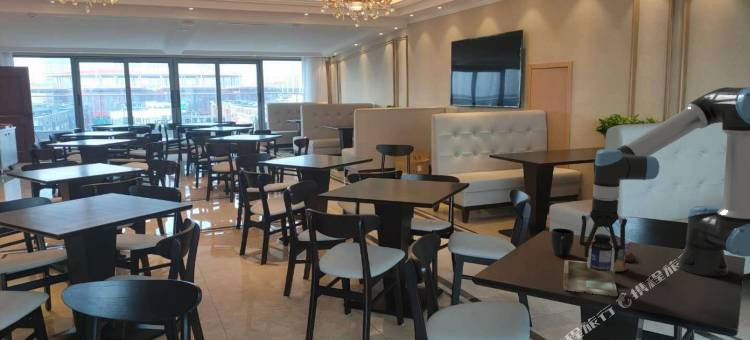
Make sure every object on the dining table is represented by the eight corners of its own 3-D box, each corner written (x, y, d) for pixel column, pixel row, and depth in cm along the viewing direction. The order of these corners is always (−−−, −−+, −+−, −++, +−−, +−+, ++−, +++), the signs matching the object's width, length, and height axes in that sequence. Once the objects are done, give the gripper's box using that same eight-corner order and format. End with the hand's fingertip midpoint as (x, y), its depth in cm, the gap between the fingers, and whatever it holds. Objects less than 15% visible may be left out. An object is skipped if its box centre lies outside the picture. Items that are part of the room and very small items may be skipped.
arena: (613, 281, 180) (615, 264, 179) (617, 296, 167) (618, 278, 166) (563, 275, 185) (564, 259, 184) (563, 290, 172) (564, 272, 171)
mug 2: (629, 274, 187) (631, 245, 185) (600, 271, 190) (602, 242, 188) (626, 264, 198) (628, 236, 196) (599, 261, 201) (601, 234, 199)
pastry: (584, 257, 206) (585, 237, 205) (586, 247, 220) (588, 228, 219) (633, 263, 199) (634, 242, 198) (632, 252, 213) (633, 232, 212)
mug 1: (549, 259, 203) (550, 235, 202) (550, 250, 214) (552, 227, 213) (572, 261, 200) (573, 237, 199) (572, 252, 211) (574, 229, 210)
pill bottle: (587, 265, 177) (589, 233, 175) (606, 265, 176) (608, 233, 175) (593, 271, 171) (596, 238, 169) (613, 272, 170) (616, 238, 169)
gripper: (637, 198, 171) (631, 267, 174) (573, 193, 177) (568, 260, 180) (640, 202, 164) (633, 275, 167) (573, 198, 170) (568, 267, 173)
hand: (600, 267), depth 174 cm, fingers closed on pill bottle, 6 cm apart
